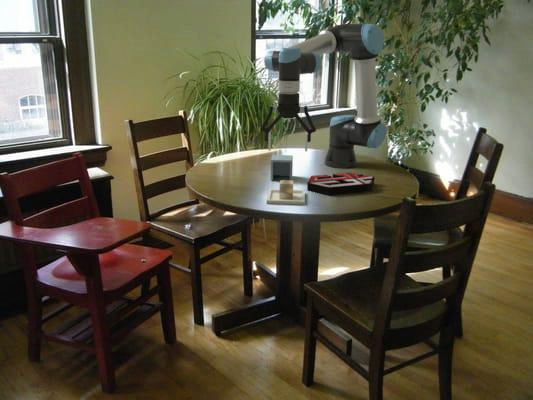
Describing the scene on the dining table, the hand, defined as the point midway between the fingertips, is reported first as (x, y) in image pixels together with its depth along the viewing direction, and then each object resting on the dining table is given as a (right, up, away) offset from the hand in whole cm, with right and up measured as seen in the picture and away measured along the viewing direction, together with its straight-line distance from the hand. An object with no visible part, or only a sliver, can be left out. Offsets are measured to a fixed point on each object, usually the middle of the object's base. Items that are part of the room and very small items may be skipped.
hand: (287, 150), depth 198 cm
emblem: (+23, -14, +20) cm, 33 cm away
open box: (-1, -9, +32) cm, 33 cm away
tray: (0, -18, +5) cm, 19 cm away
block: (0, -17, +5) cm, 18 cm away
